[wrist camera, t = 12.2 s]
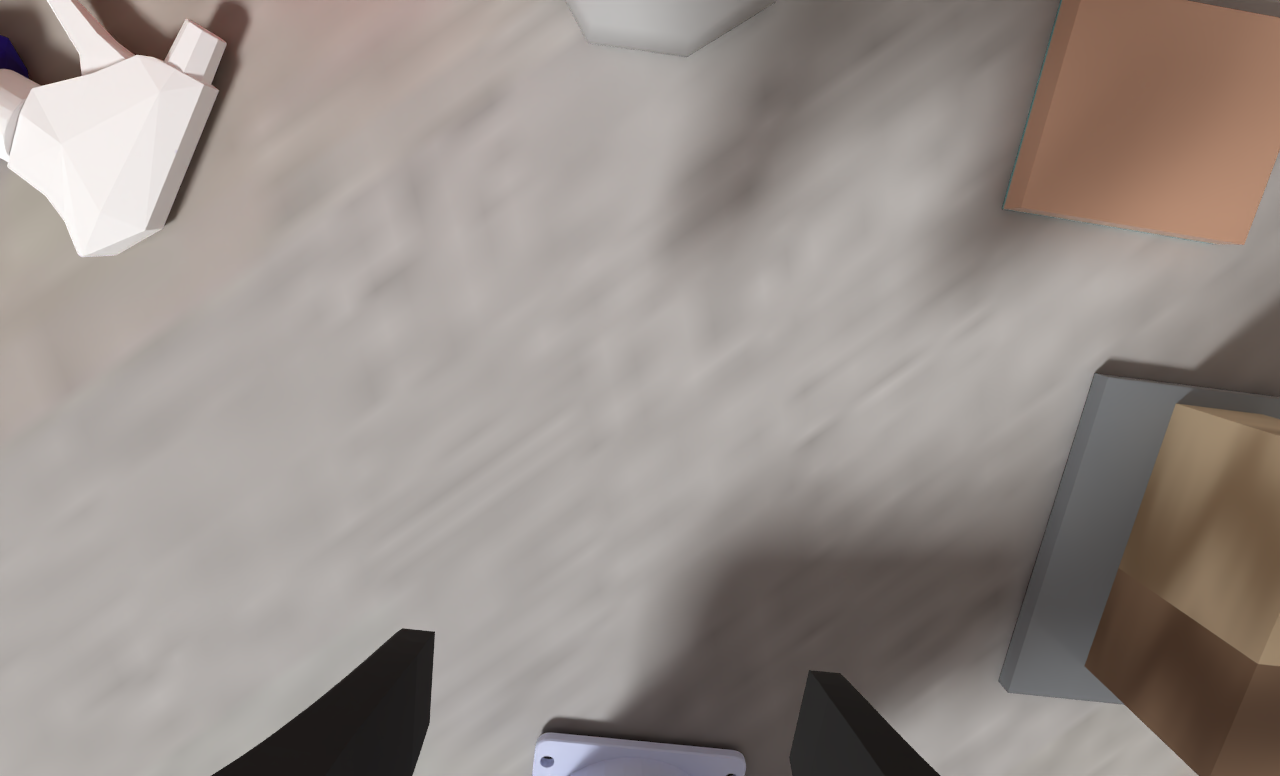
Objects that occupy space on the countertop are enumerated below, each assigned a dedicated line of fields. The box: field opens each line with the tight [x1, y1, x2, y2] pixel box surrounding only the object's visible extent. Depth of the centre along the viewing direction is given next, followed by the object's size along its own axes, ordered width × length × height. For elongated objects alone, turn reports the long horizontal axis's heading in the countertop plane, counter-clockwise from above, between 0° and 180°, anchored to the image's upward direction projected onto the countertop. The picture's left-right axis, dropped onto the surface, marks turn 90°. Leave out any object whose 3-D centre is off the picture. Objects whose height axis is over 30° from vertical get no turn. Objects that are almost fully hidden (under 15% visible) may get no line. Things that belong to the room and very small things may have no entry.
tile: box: [1002, 0, 1280, 245], centre depth 19 cm, size 2×7×6 cm
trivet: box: [999, 373, 1280, 705], centre depth 22 cm, size 12×8×1 cm, turn 173°
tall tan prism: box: [1085, 404, 1280, 776], centre depth 19 cm, size 10×3×5 cm, turn 173°
